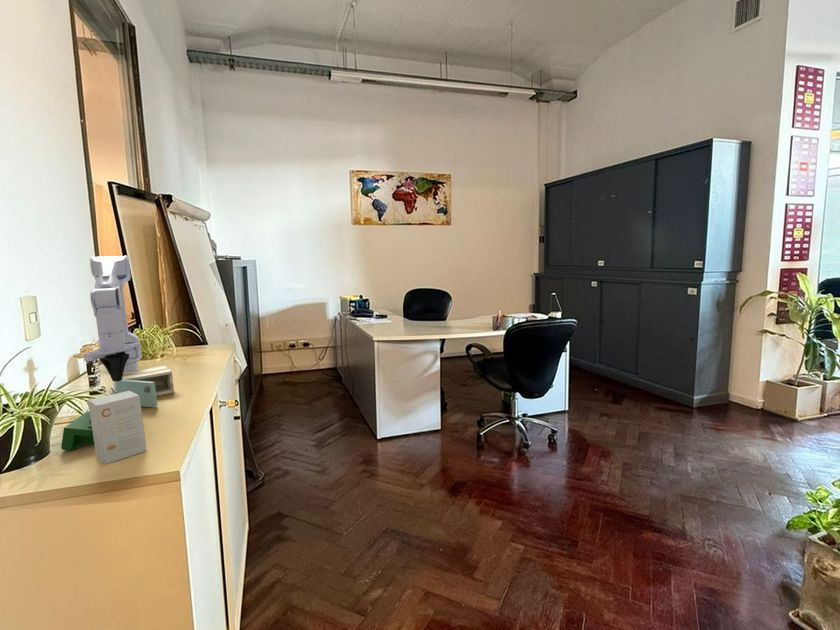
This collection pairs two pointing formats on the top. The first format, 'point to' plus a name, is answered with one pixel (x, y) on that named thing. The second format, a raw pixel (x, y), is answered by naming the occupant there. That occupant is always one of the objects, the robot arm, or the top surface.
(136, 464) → the top surface
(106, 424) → the small box
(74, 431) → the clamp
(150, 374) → the cabinet
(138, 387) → the door
